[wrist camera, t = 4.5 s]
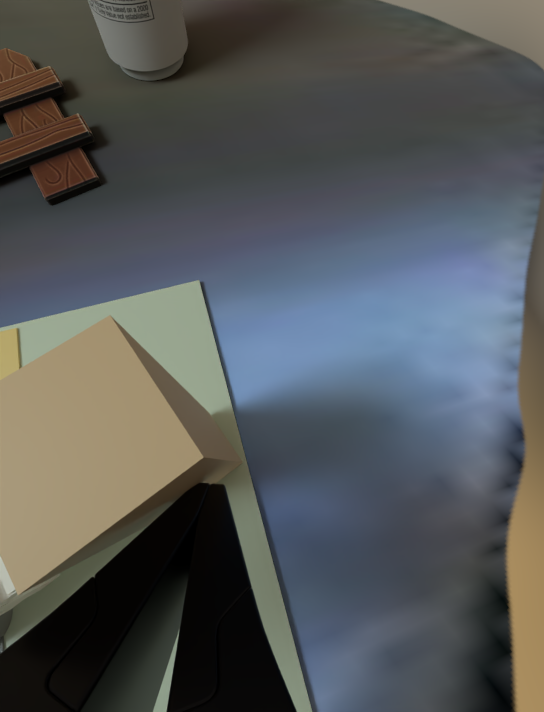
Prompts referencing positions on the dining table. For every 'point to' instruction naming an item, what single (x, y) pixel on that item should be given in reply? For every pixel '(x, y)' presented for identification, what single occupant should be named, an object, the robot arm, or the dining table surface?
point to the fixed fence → (5, 622)
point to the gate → (93, 454)
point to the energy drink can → (143, 35)
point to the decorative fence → (42, 131)
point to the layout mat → (208, 386)
